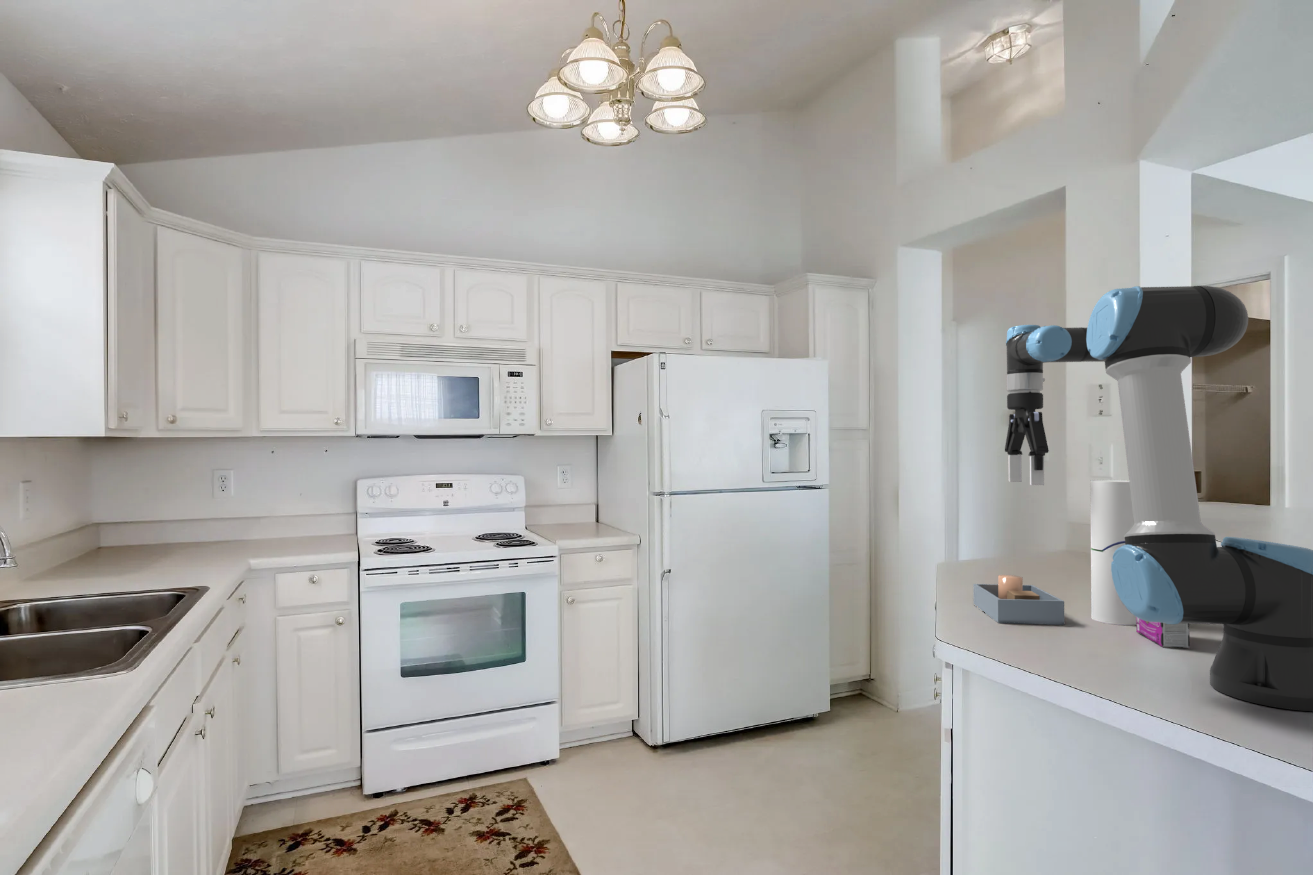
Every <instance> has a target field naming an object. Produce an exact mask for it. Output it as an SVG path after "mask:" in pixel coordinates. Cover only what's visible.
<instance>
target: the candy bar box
mask: <svg viewBox="0 0 1313 875" xmlns="http://www.w3.org/2000/svg"><path fill="white" fill-rule="evenodd" d="M1135 626H1136V627H1135V628H1136V633H1138V634H1139V635H1141V636H1143V637H1145V638H1146V639H1148V640H1150V641H1151V642H1153V643H1155V644H1157V645H1158V646H1160V647H1162V648H1167V649H1168V648H1169V649H1190V648H1191V647H1190V646H1191V644H1190V643H1191V642H1190V641H1191V640H1190V638H1191V637H1190V632H1191V631H1190V624H1185V623H1178V624H1166V623H1161V622H1148V621H1144V620H1141V619H1139V618H1137V617H1136V625H1135Z"/></svg>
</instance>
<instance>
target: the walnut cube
mask: <svg viewBox="0 0 1313 875" xmlns="http://www.w3.org/2000/svg"><path fill="white" fill-rule="evenodd" d="M1007 599H1023V600H1040V596H1039V595H1037V594H1036V593H1034V592H1032V591H1010V590H1007Z"/></svg>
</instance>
